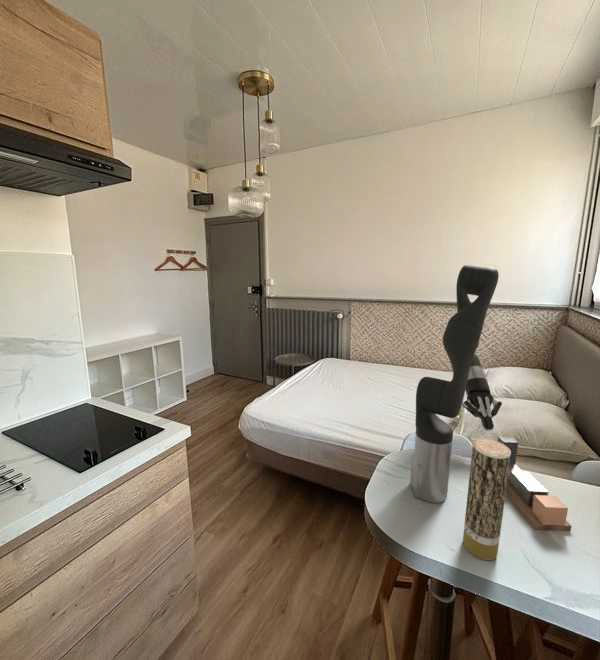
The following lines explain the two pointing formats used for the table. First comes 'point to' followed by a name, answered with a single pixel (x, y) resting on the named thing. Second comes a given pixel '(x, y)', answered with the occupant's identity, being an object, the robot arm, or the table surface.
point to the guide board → (529, 515)
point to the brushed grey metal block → (514, 458)
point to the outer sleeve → (525, 485)
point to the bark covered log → (486, 497)
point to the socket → (549, 510)
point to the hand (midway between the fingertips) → (489, 429)
